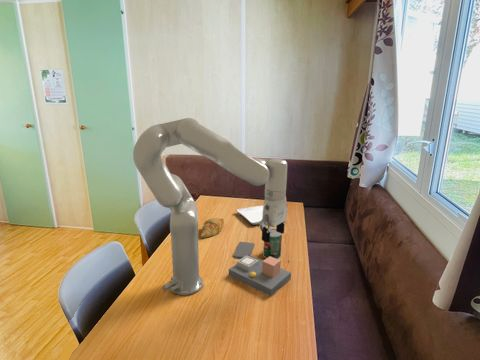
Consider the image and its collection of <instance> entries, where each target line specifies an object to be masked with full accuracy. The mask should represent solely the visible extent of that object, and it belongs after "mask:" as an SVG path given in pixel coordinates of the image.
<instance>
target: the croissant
mask: <svg viewBox="0 0 480 360" xmlns="http://www.w3.org/2000/svg"><path fill="white" fill-rule="evenodd" d="M224 222H225V221H224V218H217V217H216V218H215V217H213V218H209V219H207V220H205V221H204V222H203V226H202V229H201V233H200V237H201V238H203V239H204V238H210V237H213V236H216V235H219V234H220V232H221V231H222V229H223V226H224Z"/></svg>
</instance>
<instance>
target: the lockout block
mask: <svg viewBox="0 0 480 360" xmlns="http://www.w3.org/2000/svg"><path fill="white" fill-rule="evenodd" d="M281 262H282V261H281V260H280V259H279V258H278V259H276V258H273V257H271V256H270V257H268V258H265V259H263V264H262V273H264V274H266V275H268V276H271V277H274V276H276V275H277V274H278V273H279V272H280V268H281Z"/></svg>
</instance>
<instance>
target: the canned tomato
mask: <svg viewBox="0 0 480 360" xmlns="http://www.w3.org/2000/svg"><path fill="white" fill-rule="evenodd" d="M269 232H270V242H269V243H268V242H265V241H263V257H264V258H265V259H267V258H268V257H270V256H271V257H273V258H276V259H278V260H279V259H280V258H281V256H282V254H281V253H282V239H283V237H282V236H283V234H282V233H279V232H277V231H276V228H270V231H269Z"/></svg>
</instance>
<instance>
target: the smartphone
mask: <svg viewBox="0 0 480 360" xmlns="http://www.w3.org/2000/svg"><path fill="white" fill-rule="evenodd" d="M255 244H256V243H254V242H247V241H239V242H238V244H237V245H236V249H235V251H234V252H233V254H232V257H233V258H235V259H241V258H243V257H245V256H246V255H247V256H250V255H251V256H252V253H253V250H254V248H255Z"/></svg>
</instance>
